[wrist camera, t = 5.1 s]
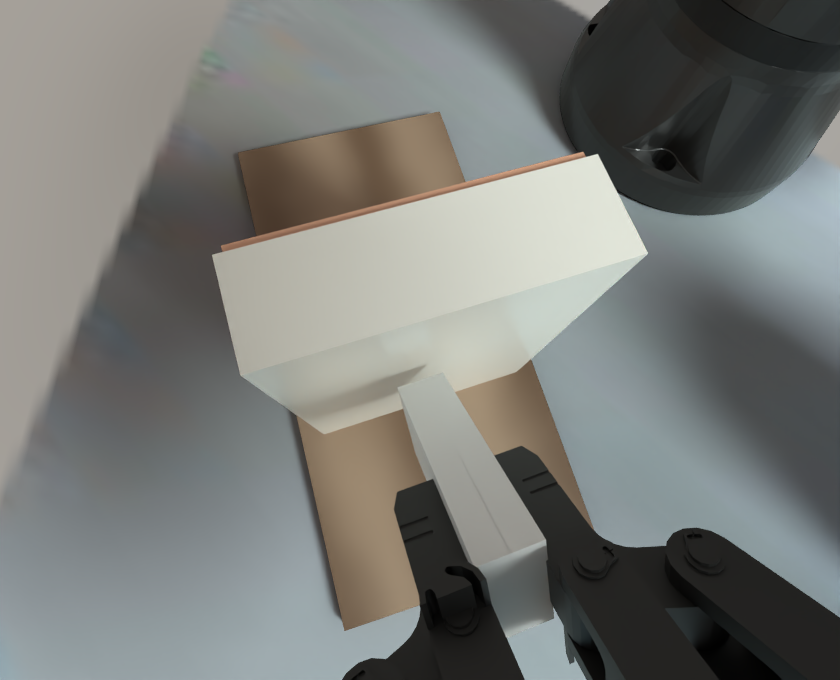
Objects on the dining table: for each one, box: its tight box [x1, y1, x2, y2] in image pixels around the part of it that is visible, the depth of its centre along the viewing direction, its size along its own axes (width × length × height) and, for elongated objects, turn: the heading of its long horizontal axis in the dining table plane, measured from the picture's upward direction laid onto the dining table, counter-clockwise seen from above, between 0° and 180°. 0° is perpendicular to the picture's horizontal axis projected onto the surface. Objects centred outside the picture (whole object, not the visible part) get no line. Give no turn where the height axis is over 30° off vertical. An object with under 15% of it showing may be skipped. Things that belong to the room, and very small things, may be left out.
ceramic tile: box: [212, 152, 648, 434], centre depth 18 cm, size 3×10×13 cm, turn 109°
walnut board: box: [238, 112, 594, 631], centre depth 25 cm, size 12×25×1 cm, turn 16°
